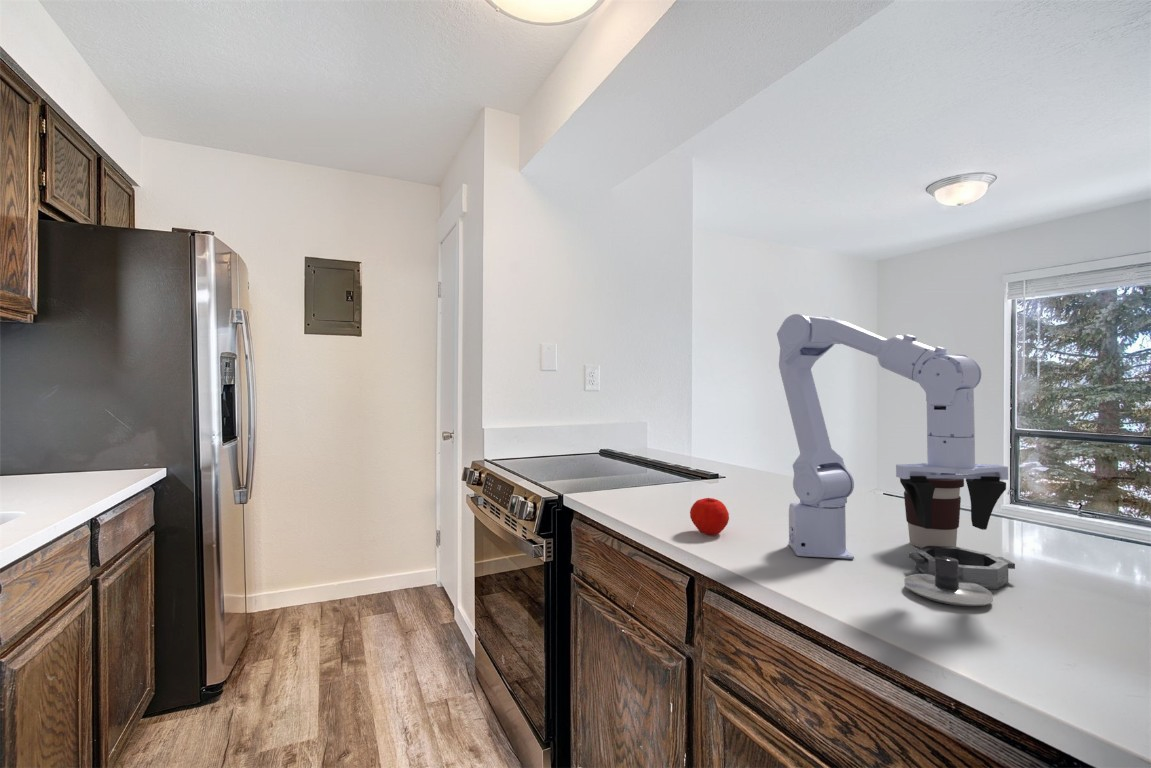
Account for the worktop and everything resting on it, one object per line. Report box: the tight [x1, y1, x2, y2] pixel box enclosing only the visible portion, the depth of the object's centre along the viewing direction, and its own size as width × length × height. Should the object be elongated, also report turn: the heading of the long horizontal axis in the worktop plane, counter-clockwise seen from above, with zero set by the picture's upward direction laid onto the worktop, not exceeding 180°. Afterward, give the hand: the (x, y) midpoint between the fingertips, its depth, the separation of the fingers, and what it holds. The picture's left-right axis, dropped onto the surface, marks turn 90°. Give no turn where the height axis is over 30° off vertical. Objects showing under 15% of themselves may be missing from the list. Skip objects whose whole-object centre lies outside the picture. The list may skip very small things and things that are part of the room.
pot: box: [908, 546, 1016, 590], centre depth 82 cm, size 14×11×3 cm
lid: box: [903, 556, 994, 607], centre depth 75 cm, size 10×10×5 cm
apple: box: [689, 497, 730, 536], centre depth 107 cm, size 8×8×7 cm
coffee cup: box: [903, 473, 965, 549], centre depth 97 cm, size 10×10×15 cm
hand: (951, 527), depth 76 cm, fingers open, 7 cm apart
